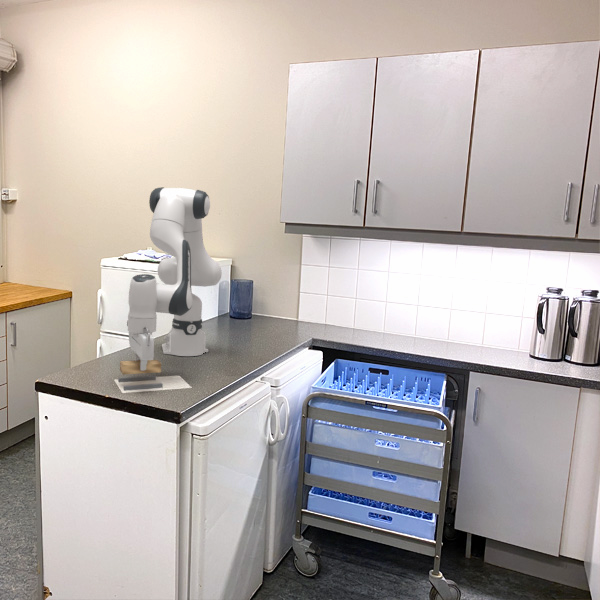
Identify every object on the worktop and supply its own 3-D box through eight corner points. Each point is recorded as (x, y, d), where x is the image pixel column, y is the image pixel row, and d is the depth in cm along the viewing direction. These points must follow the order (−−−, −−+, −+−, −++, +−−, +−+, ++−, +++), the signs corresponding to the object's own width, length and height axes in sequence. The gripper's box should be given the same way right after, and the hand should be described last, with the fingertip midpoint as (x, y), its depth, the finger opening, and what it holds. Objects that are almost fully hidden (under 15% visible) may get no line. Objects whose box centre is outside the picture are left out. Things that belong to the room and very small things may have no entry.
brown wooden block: (157, 368, 188) (157, 359, 187) (160, 372, 183) (161, 363, 183) (119, 370, 182) (120, 361, 182) (122, 374, 178) (123, 365, 177)
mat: (113, 381, 187) (114, 376, 187) (179, 377, 197) (179, 372, 197) (122, 394, 174) (122, 389, 173) (191, 389, 184) (192, 384, 184)
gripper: (159, 331, 173) (158, 375, 175) (145, 319, 191) (143, 359, 193) (138, 331, 170) (137, 376, 172) (126, 320, 188) (124, 360, 190)
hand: (140, 367), depth 183 cm, fingers closed on brown wooden block, 5 cm apart
